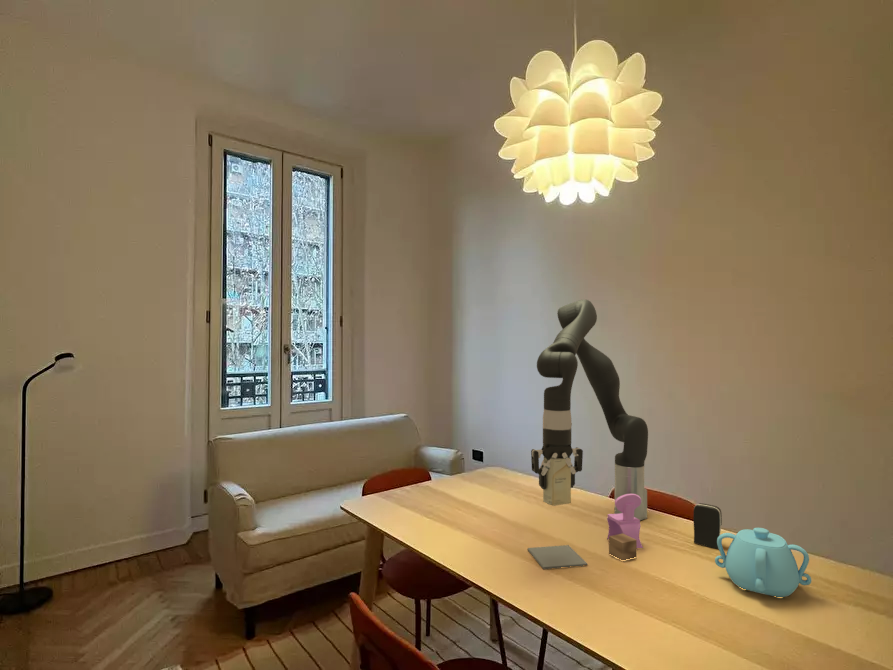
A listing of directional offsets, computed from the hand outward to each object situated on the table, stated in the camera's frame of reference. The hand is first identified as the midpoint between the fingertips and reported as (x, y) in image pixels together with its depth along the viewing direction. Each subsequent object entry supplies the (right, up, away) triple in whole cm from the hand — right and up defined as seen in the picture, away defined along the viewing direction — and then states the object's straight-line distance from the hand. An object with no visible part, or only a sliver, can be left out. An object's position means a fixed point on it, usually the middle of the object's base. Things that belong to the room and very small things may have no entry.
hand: (556, 487), depth 137 cm
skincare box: (0, -4, 0) cm, 4 cm away
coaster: (0, -19, 0) cm, 19 cm away
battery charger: (+45, -19, +9) cm, 50 cm away
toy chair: (+21, -19, +10) cm, 30 cm away
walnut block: (+18, -19, +1) cm, 26 cm away
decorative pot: (+45, -19, -15) cm, 51 cm away
